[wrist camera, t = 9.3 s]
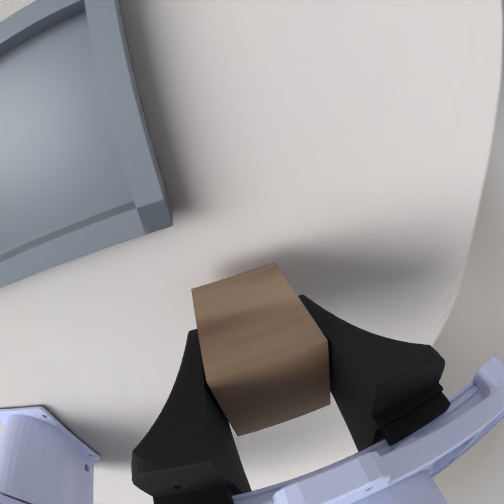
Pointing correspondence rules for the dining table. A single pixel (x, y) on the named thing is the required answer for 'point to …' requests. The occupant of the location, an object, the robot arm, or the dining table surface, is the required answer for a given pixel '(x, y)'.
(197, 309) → the walnut block
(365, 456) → the robot arm
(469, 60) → the dining table surface
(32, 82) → the parts tray
